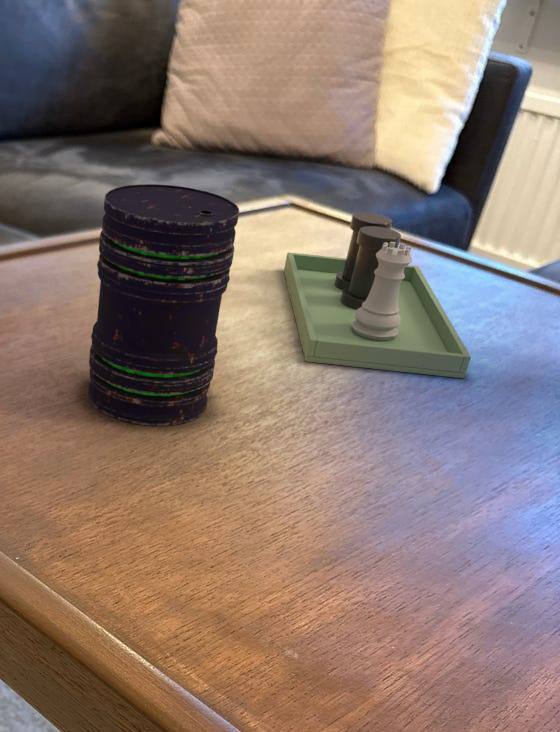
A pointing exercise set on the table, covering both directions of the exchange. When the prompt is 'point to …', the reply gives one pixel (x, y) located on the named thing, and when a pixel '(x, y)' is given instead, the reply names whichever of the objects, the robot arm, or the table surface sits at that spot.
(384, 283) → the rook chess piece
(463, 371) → the piece tray
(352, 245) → the black piece
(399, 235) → the black piece
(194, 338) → the dark barrel
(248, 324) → the table surface
